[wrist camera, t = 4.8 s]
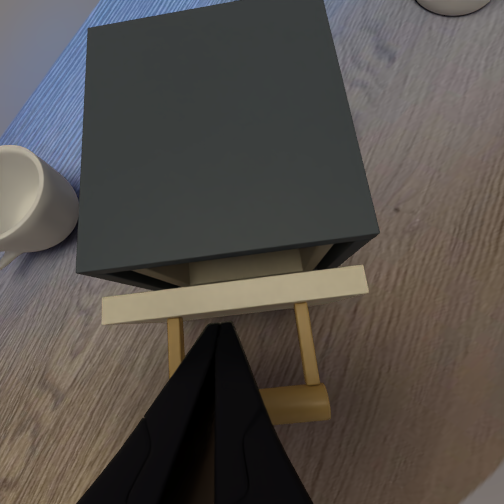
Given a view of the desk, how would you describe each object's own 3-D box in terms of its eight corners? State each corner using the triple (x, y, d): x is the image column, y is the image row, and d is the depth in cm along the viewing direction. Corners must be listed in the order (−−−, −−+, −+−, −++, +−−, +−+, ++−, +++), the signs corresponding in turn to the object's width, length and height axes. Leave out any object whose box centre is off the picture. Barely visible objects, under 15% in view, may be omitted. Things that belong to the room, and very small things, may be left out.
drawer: (339, 375, 19) (399, 428, 10) (180, 391, 19) (97, 456, 10) (300, 156, 23) (316, 53, 14) (171, 176, 24) (106, 88, 15)
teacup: (41, 170, 26) (-18, 133, 21) (108, 194, 25) (63, 160, 19) (-16, 265, 24) (-96, 251, 19) (54, 296, 23) (-12, 290, 18)
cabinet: (327, 275, 21) (380, 233, 11) (172, 295, 22) (75, 273, 11) (300, 130, 25) (320, -15, 14) (167, 150, 25) (87, 27, 15)
